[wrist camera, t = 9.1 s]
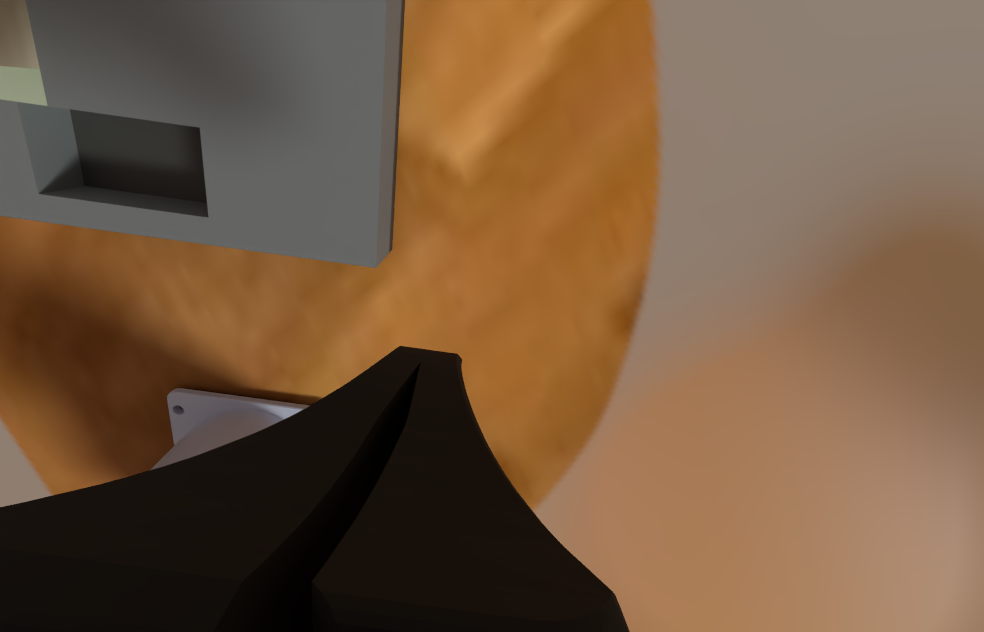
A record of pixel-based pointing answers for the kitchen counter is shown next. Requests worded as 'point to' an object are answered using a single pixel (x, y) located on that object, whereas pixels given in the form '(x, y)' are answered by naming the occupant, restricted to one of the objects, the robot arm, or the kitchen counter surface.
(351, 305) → the kitchen counter surface
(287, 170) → the board
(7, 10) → the beech block
